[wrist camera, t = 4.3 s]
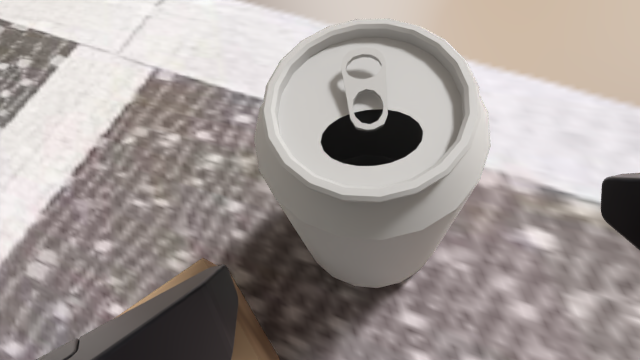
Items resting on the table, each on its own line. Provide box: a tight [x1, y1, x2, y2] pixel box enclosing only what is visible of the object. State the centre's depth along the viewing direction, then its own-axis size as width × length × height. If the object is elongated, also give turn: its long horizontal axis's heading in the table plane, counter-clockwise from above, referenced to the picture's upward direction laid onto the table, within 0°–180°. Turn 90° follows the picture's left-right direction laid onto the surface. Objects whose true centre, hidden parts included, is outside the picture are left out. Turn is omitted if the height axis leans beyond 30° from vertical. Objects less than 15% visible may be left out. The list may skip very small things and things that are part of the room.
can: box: [254, 19, 491, 288], centre depth 16 cm, size 8×8×12 cm
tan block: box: [117, 258, 280, 360], centre depth 19 cm, size 6×6×4 cm
